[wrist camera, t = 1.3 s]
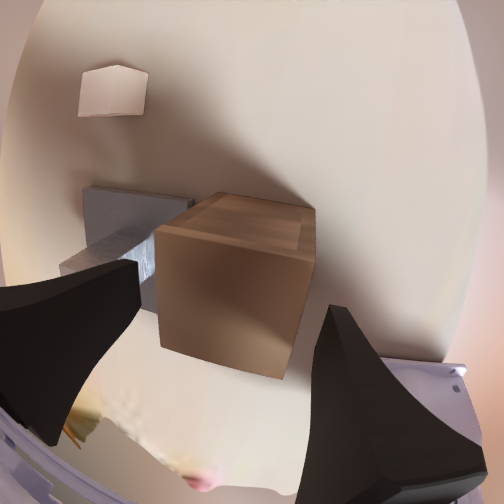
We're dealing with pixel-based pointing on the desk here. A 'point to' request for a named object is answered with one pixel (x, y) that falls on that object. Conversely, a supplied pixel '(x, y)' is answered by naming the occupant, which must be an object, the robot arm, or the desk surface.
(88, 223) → the post
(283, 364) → the brown rectangular block
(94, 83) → the off-white cube
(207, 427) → the desk surface
